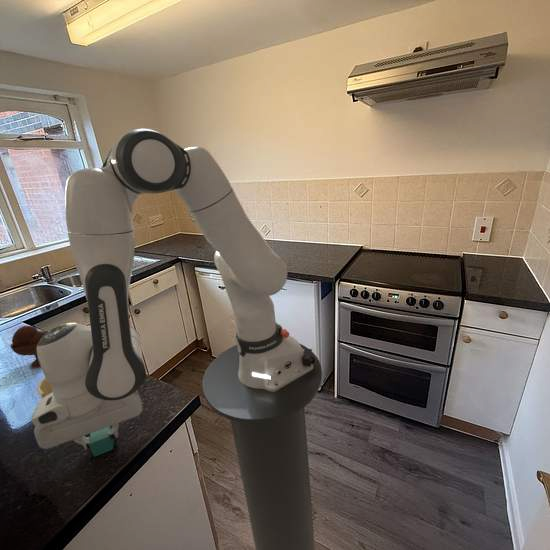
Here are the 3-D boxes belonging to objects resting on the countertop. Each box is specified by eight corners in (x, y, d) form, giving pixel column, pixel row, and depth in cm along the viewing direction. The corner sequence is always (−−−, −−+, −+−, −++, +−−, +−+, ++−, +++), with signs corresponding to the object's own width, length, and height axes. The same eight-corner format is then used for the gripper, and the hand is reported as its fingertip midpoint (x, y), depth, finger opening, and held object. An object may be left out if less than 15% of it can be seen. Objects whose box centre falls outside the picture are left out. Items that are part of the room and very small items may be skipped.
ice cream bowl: (66, 355, 107) (50, 319, 101) (32, 375, 98) (13, 337, 92) (48, 350, 111) (33, 315, 106) (14, 369, 102) (-5, 331, 97)
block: (114, 436, 72) (109, 423, 71) (113, 449, 69) (108, 436, 67) (96, 443, 71) (90, 430, 69) (94, 457, 67) (88, 444, 66)
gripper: (134, 370, 70) (149, 414, 76) (31, 402, 63) (54, 449, 68) (134, 386, 65) (150, 433, 70) (21, 424, 58) (48, 473, 63)
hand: (102, 441), depth 69 cm, fingers closed on block, 4 cm apart
